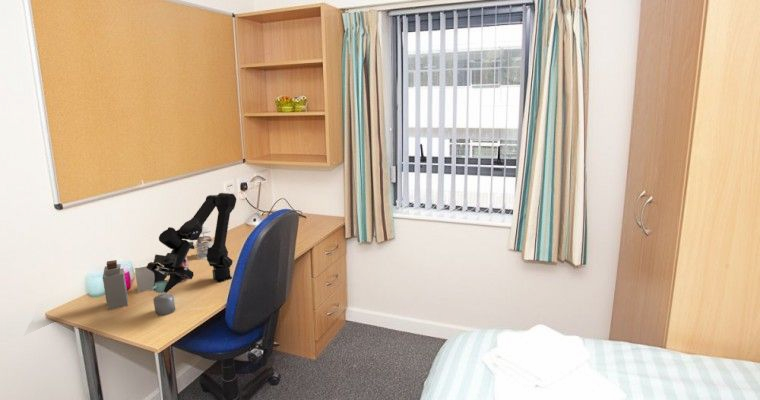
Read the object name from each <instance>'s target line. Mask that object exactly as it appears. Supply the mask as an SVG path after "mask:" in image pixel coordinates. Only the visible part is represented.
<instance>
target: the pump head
mask: <svg viewBox="0 0 760 400" xmlns="http://www.w3.org/2000/svg"><path fill="white" fill-rule="evenodd" d="M168 281H169V280H168V279H167V280H166V279H165V280H162V281H158V282H156V283H155V286H154V287H152V288H150V290H149V291H154V289H155V293H158V294H160V295H161V296H164V295H165V294H166V293H165V292H164V290H165V287H166V285H167V283H168Z"/></svg>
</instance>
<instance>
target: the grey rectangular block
mask: <svg viewBox="0 0 760 400" xmlns="http://www.w3.org/2000/svg"><path fill="white" fill-rule="evenodd" d="M146 267H147V265H146V266H140V267H135V268H134V270H135V271H134V272H135V281H136V286H137V287H136V288H137V291H138V292H139V293H140V292H144V291H151V290H150V288H152V287H154V280H155V277H154V272H152V271H151V270H149V269H147V268H146ZM138 292H137V293H138Z"/></svg>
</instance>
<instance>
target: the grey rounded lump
mask: <svg viewBox="0 0 760 400" xmlns="http://www.w3.org/2000/svg"><path fill="white" fill-rule="evenodd" d="M175 303H176V302H175V296H174V294H173V293H165V295H164V296H161V294H158V295H156V296H154V298H153V306H154V314H155V315H157V316H159V317H160V316H161V317H162V316H167V315H170V314H173V313H174V312H175V311H176V304H175Z"/></svg>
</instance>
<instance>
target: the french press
mask: <svg viewBox="0 0 760 400" xmlns="http://www.w3.org/2000/svg"><path fill="white" fill-rule="evenodd" d="M211 231H212V229H211V228H209V227H204V225H203V226H202V232H201V234H202V235H203V236H199V238H198V239H197V240H195V243H194V240H189V242H193V245H194V248H196V253H197V255H196V256H195V259H197V260H207V257H206V255H207V249H208V248H211V247H212V245H213V244H214V243H213V240H212V236H210V235H205V234H209V233H211ZM201 234H200V235H201Z"/></svg>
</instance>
